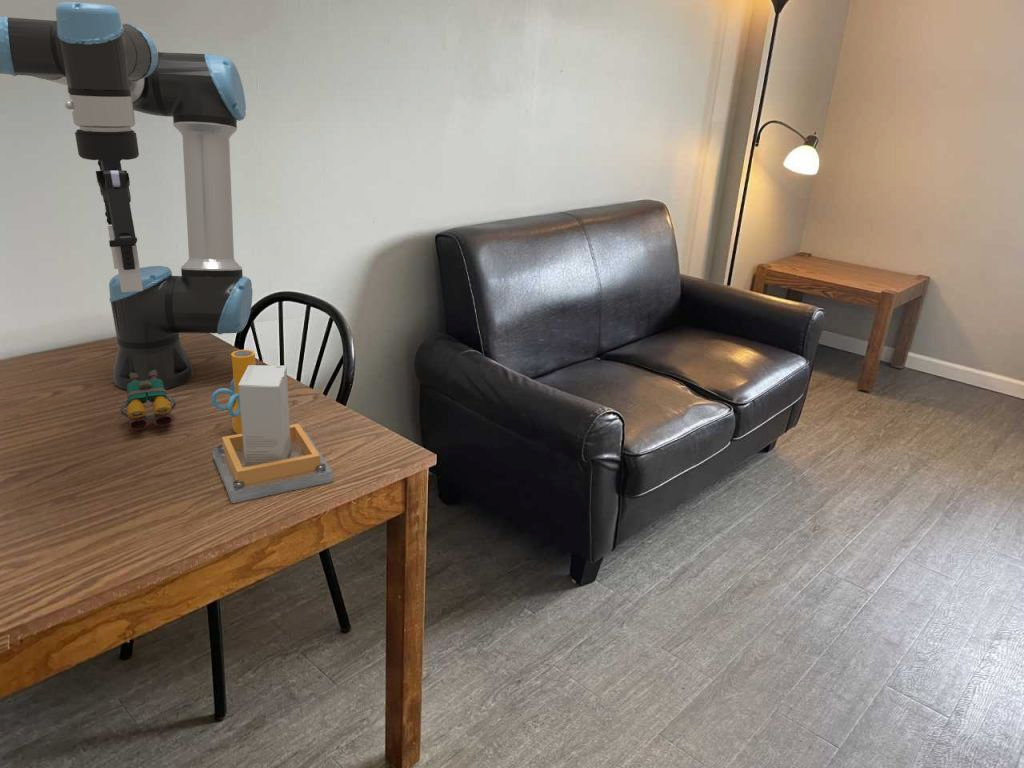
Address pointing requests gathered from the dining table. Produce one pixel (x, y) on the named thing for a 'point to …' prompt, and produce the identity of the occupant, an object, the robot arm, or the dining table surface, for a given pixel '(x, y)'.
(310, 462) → the frame
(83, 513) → the dining table surface
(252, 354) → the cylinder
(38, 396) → the dining table surface
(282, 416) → the skincare box
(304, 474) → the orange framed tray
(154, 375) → the binoculars
